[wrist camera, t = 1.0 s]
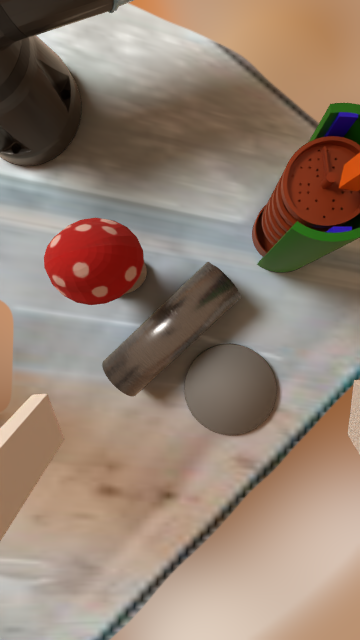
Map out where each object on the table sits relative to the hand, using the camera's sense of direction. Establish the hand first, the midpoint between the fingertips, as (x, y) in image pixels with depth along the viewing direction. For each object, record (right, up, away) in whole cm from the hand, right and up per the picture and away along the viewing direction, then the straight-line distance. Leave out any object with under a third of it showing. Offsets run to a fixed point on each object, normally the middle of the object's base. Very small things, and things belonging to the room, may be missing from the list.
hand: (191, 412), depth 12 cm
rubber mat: (+6, -5, +25) cm, 26 cm away
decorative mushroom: (-8, +10, +26) cm, 29 cm away
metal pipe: (-1, +3, +26) cm, 26 cm away
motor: (+13, +15, +24) cm, 32 cm away
